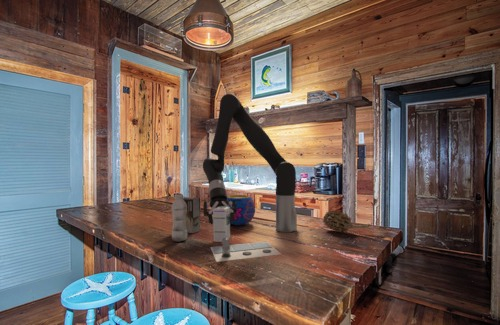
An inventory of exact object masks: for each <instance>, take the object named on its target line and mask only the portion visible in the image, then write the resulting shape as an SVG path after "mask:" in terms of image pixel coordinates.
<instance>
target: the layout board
mask: <svg viewBox="0 0 500 325" xmlns="http://www.w3.org/2000/svg"><path fill="white" fill-rule="evenodd" d="M209 248H210V250H211V252H212V254H213V257H214V259H215V262H217V263H220V262H228V261H237V260H244V259H252V258H254V259H255V258H261V257H269V256H278V255H282V253H281V252H280V251H278V250H277V249H276V248H275V247H274V246H272V245H271V243H270V242H268V241H256V242H247V243H239V244H238V243H237V244H230V256H229V257H223V256H222V245H219V246H217V245H216V246H210V247H209Z"/></svg>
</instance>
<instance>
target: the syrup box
mask: <svg viewBox="0 0 500 325" xmlns="http://www.w3.org/2000/svg"><path fill="white" fill-rule="evenodd" d="M212 218H213V224H212V226H213V227H212V229H213V230H212V231H213V242H215V243H217V242H219V243H222V239H223V238H230V239H231V224H230V207H217V208H215V209H213V214H212Z"/></svg>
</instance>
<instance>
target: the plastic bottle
mask: <svg viewBox="0 0 500 325" xmlns="http://www.w3.org/2000/svg"><path fill="white" fill-rule="evenodd" d="M184 197H185V196H184V193H175V194H174V200H173V203H171V214H172V232H171V239H172V241H173V242H178V243H179V242H184V241H186V240H187V238H188V235H189V233H187V229H186V211H187V205H186V203H185V201H184V200H183V198H184Z"/></svg>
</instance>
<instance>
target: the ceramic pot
mask: <svg viewBox="0 0 500 325" xmlns="http://www.w3.org/2000/svg"><path fill="white" fill-rule="evenodd" d="M227 200H228V201H229V202H231V201H232V200H235V203H236V207H237V213H236V214H234V222H233V223H231V220H230V225H234V226H244V225H247V224H249V223H250V222H252V220H253V219H254V216H255V213H256V206H255V202H254V201H253V199H252V197H250V196H249V195H246V194H234V195H229V196H227ZM228 206H229V207H230V208H231V209H232V210H233V208H232V207H231V206H230V205H228Z"/></svg>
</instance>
